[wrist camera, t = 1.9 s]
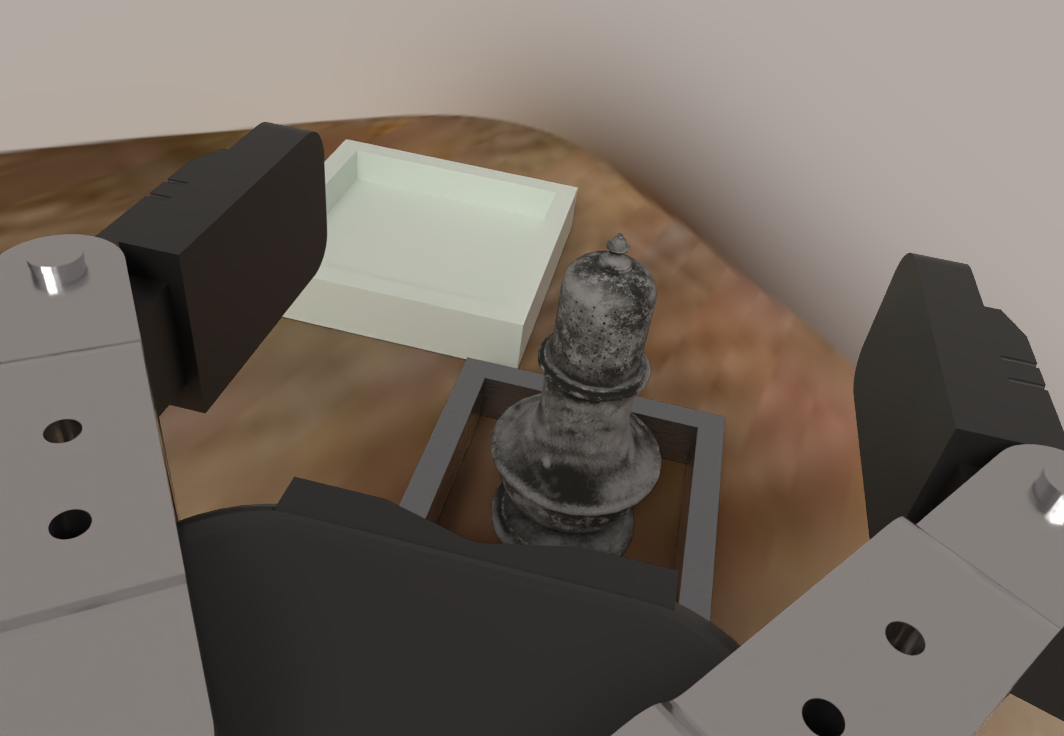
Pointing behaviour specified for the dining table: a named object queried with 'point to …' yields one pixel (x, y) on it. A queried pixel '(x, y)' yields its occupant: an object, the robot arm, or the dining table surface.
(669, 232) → the dining table surface
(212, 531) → the robot arm
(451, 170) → the tray
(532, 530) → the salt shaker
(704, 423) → the holder
